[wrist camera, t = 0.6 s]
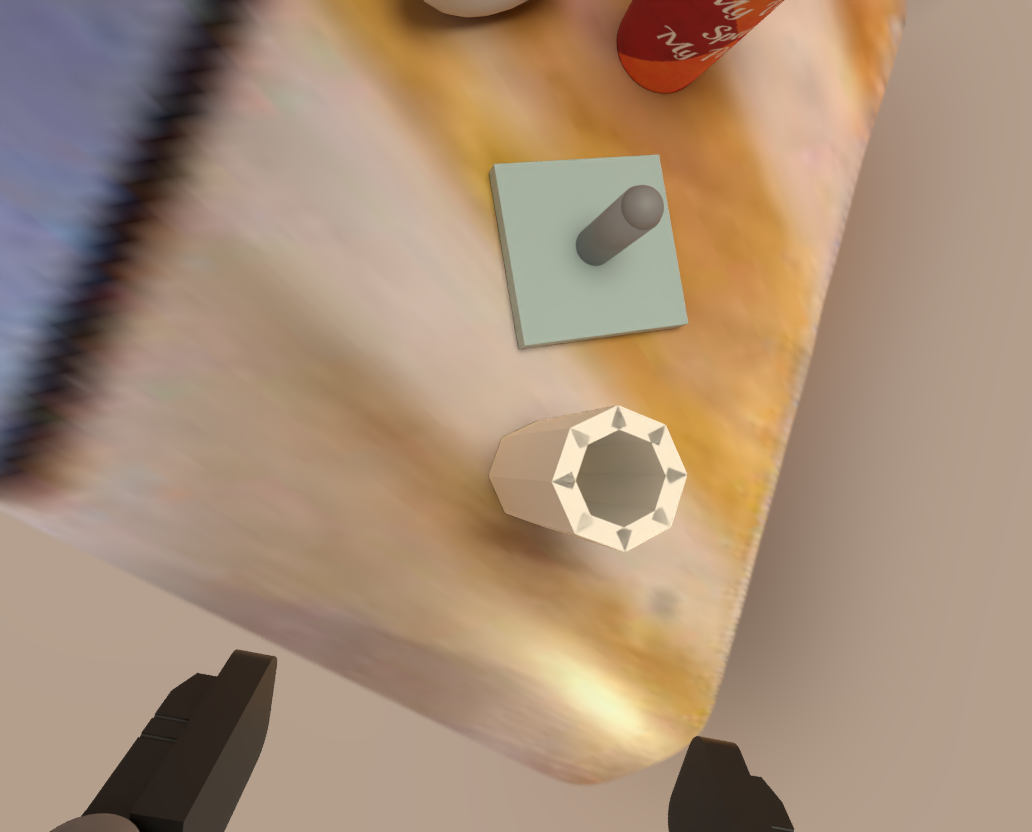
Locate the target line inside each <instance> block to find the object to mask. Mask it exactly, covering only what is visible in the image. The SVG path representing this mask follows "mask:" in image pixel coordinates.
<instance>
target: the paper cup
mask: <svg viewBox="0 0 1032 832" xmlns="http://www.w3.org/2000/svg"><path fill="white" fill-rule="evenodd" d="M783 1H784V0H632V2H631V4H630V6H629V8H628V10H627V12H626V14H625V16H624V18H623V20H622V22H621V25H620V27H619V30H618V35H617V49H618V54H619V57H620V60H621V62H622V65H623V66H624V68H625V70H626V71H627V73H628V74H629V75H630V76H631V78H632V79H633V80H634V81H636V82H637V83H638V84H639V85H641V86H642V87H644V88H646V89H648V90H650V91H653V92H657V93H673V92H676V91H679V90H681V89H683V88H684V87H686V86H687V85H689V84H690V83H691V82H692V81H694V80H695V79H696V78H697V77H699V76H700V75H701V74H702V73H703V72H704V71H706V70H707V69H708V68H709V67H710V66H711V65H712V64H714V63H715V62H716V61H717V60H718V59H719V58H720V57H721V56H723V55H724V54H725V53H726V52H727V51H728V50H729V49H730V48H732V47H733V46H734V45H735V44H736V43H737V42H738V41H739V40H741V39H742V38H743V37H744V36H745V35H746V34H747V33H748V32H749V31H751V30H752V29H753V28H754V27H755V26H756V25H757V24H758V23H760V22H761V21H762V20H763V19H764V18H765V17H766V16H767V15H768V14H770V13H771V12H772V11H773V10H774V9H775V8H776V7H777V6H778V5H780V4H781V3H782V2H783Z"/></svg>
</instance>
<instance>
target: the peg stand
mask: <svg viewBox="0 0 1032 832" xmlns="http://www.w3.org/2000/svg"><path fill="white" fill-rule="evenodd" d="M489 176H490V182H491V188H492V194H493V200H494V206H495V211H496V217H497V223H498V229H499V235H500V241H501V247H502V253H503V259H504V265H505V271H506V277H507V282H508V288H509V294H510V300H511V306H512V312H513V318H514V324H515V330H516V336H517V342H518V348H519V349H523V348H531V347H538V346H546V345H553V344H560V343H568V342H575V341H583V340H590V339H597V338H605V337H612V336H620V335H627V334H635V333H642V332H649V331H657V330H664V329H672V328H678V327H681V326H684V325H686V324H688V319H687V313H686V307H685V302H684V296H683V290H682V284H681V279H680V273H679V267H678V261H677V256H676V250H675V244H674V238H673V233H672V227H671V221H670V215H669V210H668V204H667V198H666V192H665V187H664V181H663V175H662V169H661V164H660V158H659V155H644V156H627V157H609V158H592V159H574V160H557V161H539V162H522V163H504V164H494V165H493V167H492V169H491V170H490V172H489Z"/></svg>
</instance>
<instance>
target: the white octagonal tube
mask: <svg viewBox="0 0 1032 832" xmlns="http://www.w3.org/2000/svg"><path fill="white" fill-rule="evenodd" d="M686 477H687V473H686V470H685V468H684V466H683V464H682V461H681V459H680V457H679V454H678V452H677V450H676V447H675V445H674V443H673V440H672V438H671V436H670V434H669V431H668V429H667V427H666V425H665V424H662V423H660V422H657V421H655V420H653V419H650V418H648V417H645V416H643V415H640V414H638V413H636V412H633V411H631V410H628V409H626V408H624V407H621V406H619V405H616V406H611V407H606V408H601V409H595V410H590V411H585V412H580V413H575V414H570V415H565V416H560V417H554V418H549V419H544V420H539V421H536V422H534V423H532V424H530V425H527V426H525V427H523V428H521V429H519V430H517V431H515V432H513V433H510V434H508V435H506V436H504V437H502V439H501V442H500V445H499V448H498V450H497V453H496V456H495V459H494V462H493V464H492V467H491V470H490V473H489V479H490V481H491V483H492V485H493V488H494V490H495V492H496V494H497V496H498V499H499V501H500V503H501V505H502V508H503V510H504V512H505V513H506V514H509V515H511V516H514V517H517V518H520V519H522V520H525V521H528V522H531V523H534V524H536V525H539V526H542V527H545V528H548V529H551V530H555V531H558V532H561V533H564V534H568V535H571V536H574V537H577V538H581V539H584V540H587V541H590V542H594V543H597V544H600V545H603V546H607V547H610V548H613V549H616V550H619V551H623V552H626V551H628V550H630V549H632V548H634V547H636V546H637V545H639V544H641V543H643V542H645V541H646V540H648V539H650V538H652V537H654V536H656V535H657V534H659V533H661V532H663V531H665V530H667V529H668V528H670V527H671V526H672V523H673V519H674V516H675V513H676V510H677V506H678V503H679V500H680V497H681V494H682V490H683V487H684V484H685V481H686Z"/></svg>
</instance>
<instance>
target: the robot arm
mask: <svg viewBox="0 0 1032 832" xmlns="http://www.w3.org/2000/svg"><path fill="white" fill-rule="evenodd" d="M276 668H277V658H276V657H275V656H270V655H264V654H258V653H253V652H248V651H242V650H235V651H234V652H233V653H232V654H231V656H230V658H229V659H228V661H227V662H226V664H225V665H224V667H223V669H222V670H221V672H220V673H219V675H218V676H217V677H216V676H210V675H206V674H200V673H197V674H195V675H194V676H192V677H191V678H189V679H188V680H186V681H185V682H183V683H182V684H180V685H179V686H178V687H176V688H175V689H173V690H172V691H171V692H170V694H169V695H168V696H167V698H166V699H165V700H164V702H163V703H162V705H161V706H160V707H159V709H158V710H157V712H156V713H155V717H154V718H152V719H151V720H150V722H149V723H148V725H147V726H146V727H145V729H144V730H143V731H142V734H141V736H140V738H139V737H138V738H137V740H136V741H135V743H134V744H133V746H132V747H131V748H130V750H129V751H128V752H127V754H126V755H125V757H124V758H123V759H122V761H121V762H120V764H119V765H118V766H117V768H116V769H115V771H114V772H113V773H112V775H111V776H110V778H109V779H108V780H107V782H106V783H105V785H104V786H103V787H102V789H101V790H100V792H99V793H98V794H97V796H96V797H95V799H94V800H93V801H92V803H91V804H90V806H89V807H88V808H87V810H86V811H85V812H84V813H83V815H82V816H81V817H78V818H75V819H73V820H70V821H67V822H66V823H64V824H62V825H60V826H58V827H56V828H55V829H53V830H52V831H50V832H224V831H225V829H226V826H227V824H228V822H229V820H230V818H231V816H232V814H233V811H234V810H235V807H236V805H237V803H238V801H239V798H240V797H241V795H242V792H243V790H244V788H245V786H246V784H247V782H248V780H249V777H250V775H251V773H252V771H253V769H254V767H255V765H256V762H257V760H258V758H259V756H260V753H261V750H262V747H263V744H264V741H265V737H266V734H267V730H268V725H269V717H270V711H271V704H272V696H273V689H274V682H275V675H276ZM668 828H669V832H794V828H793V825H792V823H791V821H790V819H789V816H788V814H787V812H786V810H785V808H784V805H783V803H782V802H781V800H780V799H779V798H778V797H777V795H776V794H775V793H774V792H773V791H772V789H771V788H770V787H769V786H768V785H767V784H766V782H765V781H764V780H763V779H762V777H757V776H751V775H750V773H749V771H748V769H747V766H746V764H745V761H744V759H743V756H742V754H741V751H740V749H739V747H738V746H737V745H736V744H735V743H732V742H727V741H721V740H716V739H710V738H705V737H700V736H696V737H694V738H693V739H692V741H691V743H690V745H689V748H688V751H687V754H686V756H685V759H684V762H683V765H682V767H681V770H680V773H679V775H678V778H677V781H676V784H675V787H674V789H673V792H672V795H671V798H670V803H669V811H668Z"/></svg>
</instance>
